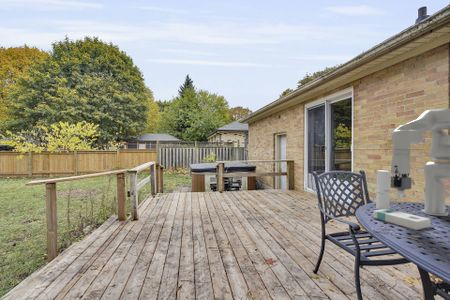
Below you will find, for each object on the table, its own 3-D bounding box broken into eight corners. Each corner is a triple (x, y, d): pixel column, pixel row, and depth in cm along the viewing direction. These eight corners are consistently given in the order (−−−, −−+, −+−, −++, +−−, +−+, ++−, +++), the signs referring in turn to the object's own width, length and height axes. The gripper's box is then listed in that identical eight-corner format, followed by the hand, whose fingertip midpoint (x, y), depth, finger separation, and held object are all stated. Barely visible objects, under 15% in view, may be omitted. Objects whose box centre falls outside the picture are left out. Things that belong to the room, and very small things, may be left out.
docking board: (373, 217, 141) (373, 210, 141) (386, 215, 146) (386, 208, 146) (416, 229, 121) (416, 221, 121) (430, 226, 126) (430, 218, 126)
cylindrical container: (391, 211, 156) (392, 171, 155) (378, 210, 157) (379, 171, 157) (386, 208, 163) (387, 170, 162) (374, 207, 164) (375, 170, 164)
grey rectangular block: (396, 194, 138) (397, 176, 138) (411, 197, 131) (411, 177, 131) (390, 195, 135) (390, 176, 135) (404, 198, 129) (405, 178, 129)
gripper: (403, 152, 140) (402, 184, 140) (384, 152, 132) (384, 186, 133) (418, 153, 133) (417, 186, 134) (399, 153, 126) (399, 188, 126)
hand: (400, 186), depth 133 cm, fingers closed on grey rectangular block, 6 cm apart
